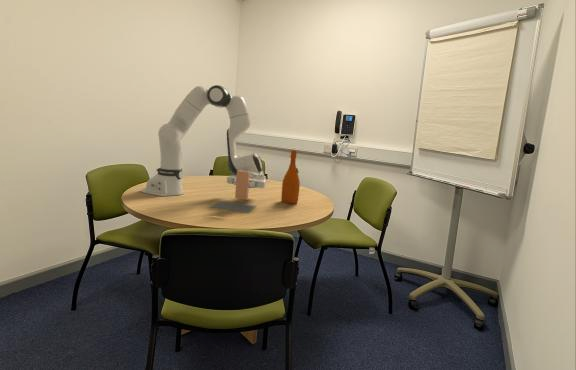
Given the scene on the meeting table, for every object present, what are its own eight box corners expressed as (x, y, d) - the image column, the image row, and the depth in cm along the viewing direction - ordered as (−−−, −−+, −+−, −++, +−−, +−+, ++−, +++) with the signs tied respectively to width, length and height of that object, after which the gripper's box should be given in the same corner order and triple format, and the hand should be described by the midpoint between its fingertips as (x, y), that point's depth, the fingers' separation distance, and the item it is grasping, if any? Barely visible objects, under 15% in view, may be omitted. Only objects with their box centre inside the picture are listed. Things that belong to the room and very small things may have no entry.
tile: (235, 197, 178) (237, 170, 176) (236, 197, 181) (238, 170, 178) (246, 199, 177) (248, 172, 175) (247, 198, 180) (250, 171, 177)
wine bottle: (296, 205, 196) (301, 151, 190) (279, 203, 198) (283, 149, 192) (299, 201, 205) (304, 150, 200) (282, 199, 207) (287, 148, 201)
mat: (209, 208, 174) (209, 207, 174) (220, 202, 189) (220, 200, 189) (248, 214, 171) (248, 212, 171) (256, 206, 185) (256, 205, 185)
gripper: (232, 171, 191) (222, 175, 178) (268, 176, 188) (262, 180, 175) (231, 182, 193) (222, 187, 179) (267, 188, 189) (260, 193, 176)
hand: (242, 184), depth 177 cm, fingers closed on tile, 6 cm apart
